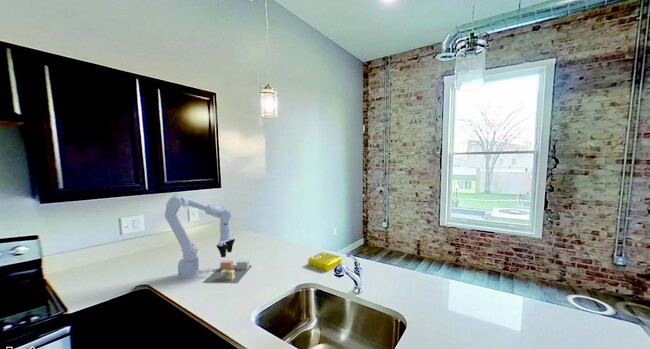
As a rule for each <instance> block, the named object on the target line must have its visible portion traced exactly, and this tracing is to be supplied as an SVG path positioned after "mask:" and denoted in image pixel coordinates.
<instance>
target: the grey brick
mask: <svg viewBox="0 0 650 349" xmlns="http://www.w3.org/2000/svg"><path fill="white" fill-rule="evenodd" d="M236 265H237V269H248V268H249V265H250V259H249V260H248V259H247V260H245V259H242V260H241V259H240V260H237V262H236Z"/></svg>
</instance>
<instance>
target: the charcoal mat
mask: <svg viewBox="0 0 650 349" xmlns="http://www.w3.org/2000/svg"><path fill="white" fill-rule="evenodd" d="M252 267H253V265H250V264H249V268H248V269H237V264H236V265H235V264H233V268H232V269H231V270H235V278H234V279H233V280H221V271H222V270H221V268H220V267H219V268H217V269H216V270H214V272H213V273H211V274H210V275H209V276H208V277H207V278H206V279H205V280H203V281H202V284H238V283H240V280H241V279H243V277H244V276H245V275H246V273H248V271H249V270H250V269H251V268H252Z"/></svg>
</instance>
